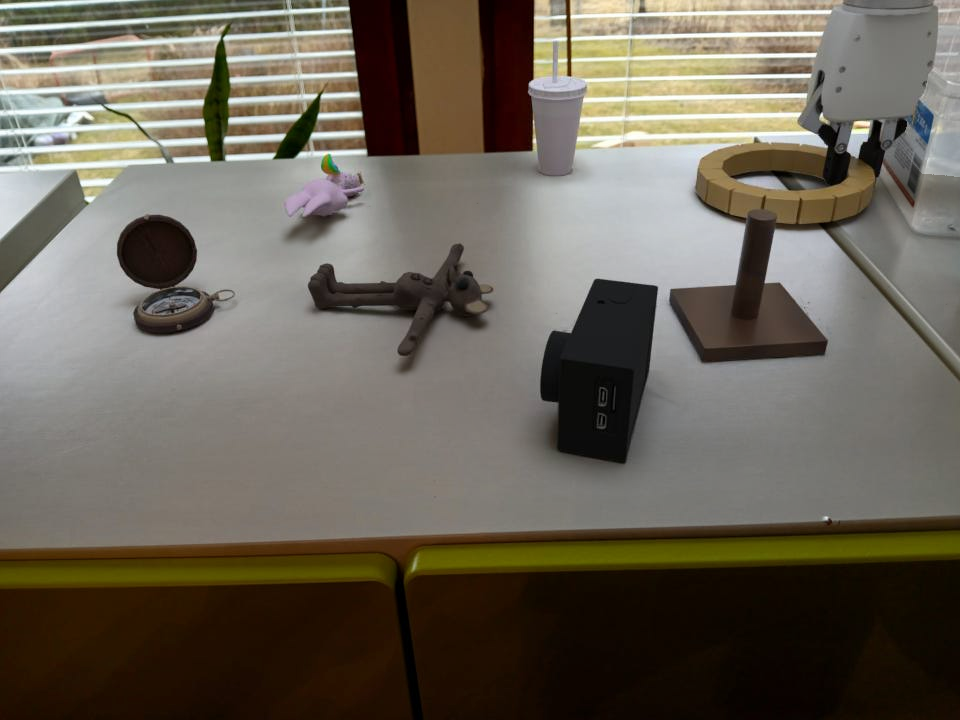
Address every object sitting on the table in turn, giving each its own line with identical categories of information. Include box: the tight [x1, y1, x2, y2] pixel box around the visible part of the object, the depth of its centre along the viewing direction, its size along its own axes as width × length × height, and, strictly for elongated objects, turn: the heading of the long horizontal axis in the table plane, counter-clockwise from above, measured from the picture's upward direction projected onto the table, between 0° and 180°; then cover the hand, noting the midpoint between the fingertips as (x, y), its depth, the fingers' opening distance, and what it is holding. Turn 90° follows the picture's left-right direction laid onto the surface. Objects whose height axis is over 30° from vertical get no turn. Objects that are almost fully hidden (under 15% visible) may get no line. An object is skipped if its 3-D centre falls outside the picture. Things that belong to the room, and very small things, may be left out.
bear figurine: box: [307, 242, 494, 357], centre depth 64 cm, size 18×4×14 cm
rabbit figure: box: [284, 153, 366, 218], centre depth 80 cm, size 6×6×15 cm
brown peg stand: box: [668, 209, 829, 363], centre depth 58 cm, size 9×9×9 cm
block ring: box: [695, 141, 876, 225], centre depth 81 cm, size 17×17×2 cm
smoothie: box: [527, 40, 588, 177], centre depth 87 cm, size 6×6×14 cm
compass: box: [116, 213, 236, 334], centre depth 64 cm, size 8×8×7 cm
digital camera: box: [539, 278, 659, 464], centre depth 51 cm, size 10×5×7 cm, turn 162°
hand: (848, 184), depth 82 cm, fingers closed on block ring, 2 cm apart
